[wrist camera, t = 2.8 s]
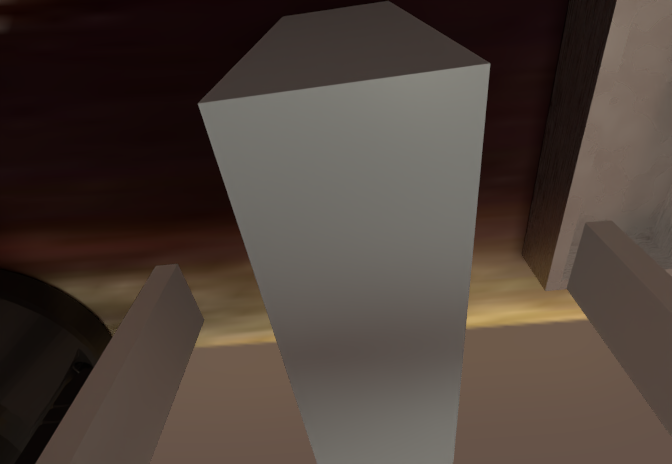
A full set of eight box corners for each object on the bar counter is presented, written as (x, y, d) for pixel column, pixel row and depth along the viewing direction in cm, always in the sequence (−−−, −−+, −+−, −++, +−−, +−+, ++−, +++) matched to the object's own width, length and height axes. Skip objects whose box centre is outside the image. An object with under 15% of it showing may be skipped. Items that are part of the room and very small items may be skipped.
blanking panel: (325, 249, 26) (319, 472, 15) (282, 16, 18) (197, 103, 7) (399, 241, 26) (452, 463, 14) (388, 0, 18) (489, 63, 6)
